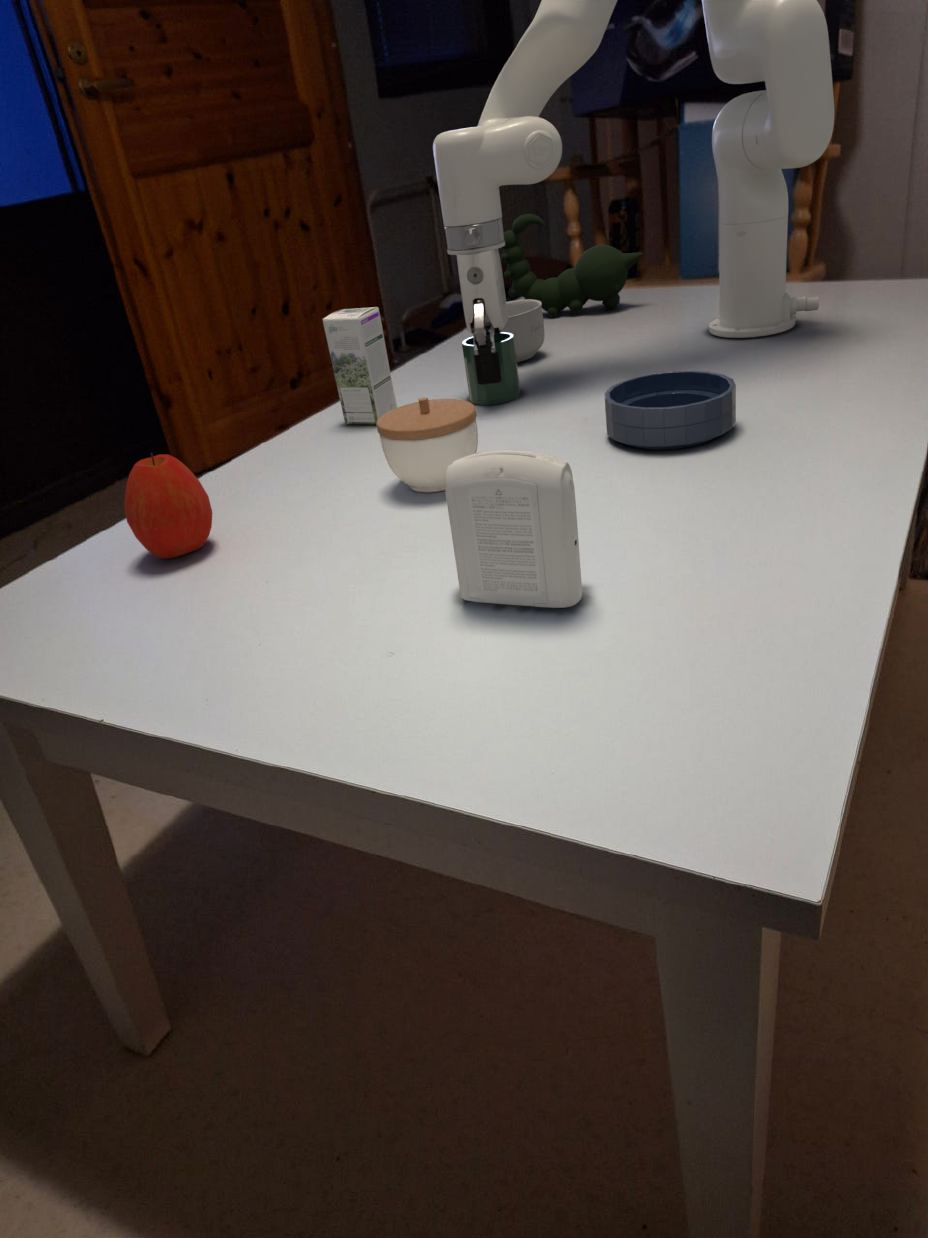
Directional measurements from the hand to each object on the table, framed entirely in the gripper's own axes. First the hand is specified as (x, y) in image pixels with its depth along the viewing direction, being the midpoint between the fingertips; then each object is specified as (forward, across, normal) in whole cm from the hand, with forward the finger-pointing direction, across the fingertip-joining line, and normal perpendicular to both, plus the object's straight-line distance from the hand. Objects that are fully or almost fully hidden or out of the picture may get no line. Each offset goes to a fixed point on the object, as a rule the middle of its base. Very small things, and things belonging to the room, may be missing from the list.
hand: (492, 374), depth 124 cm
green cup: (+3, 0, 0) cm, 3 cm away
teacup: (+3, +22, -1) cm, 22 cm away
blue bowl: (+3, -22, -22) cm, 31 cm away
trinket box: (+3, -31, +4) cm, 31 cm away
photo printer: (+3, -59, -7) cm, 60 cm away
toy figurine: (+3, +50, -11) cm, 51 cm away
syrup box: (+3, -4, +17) cm, 18 cm away
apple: (+3, -44, +29) cm, 53 cm away
